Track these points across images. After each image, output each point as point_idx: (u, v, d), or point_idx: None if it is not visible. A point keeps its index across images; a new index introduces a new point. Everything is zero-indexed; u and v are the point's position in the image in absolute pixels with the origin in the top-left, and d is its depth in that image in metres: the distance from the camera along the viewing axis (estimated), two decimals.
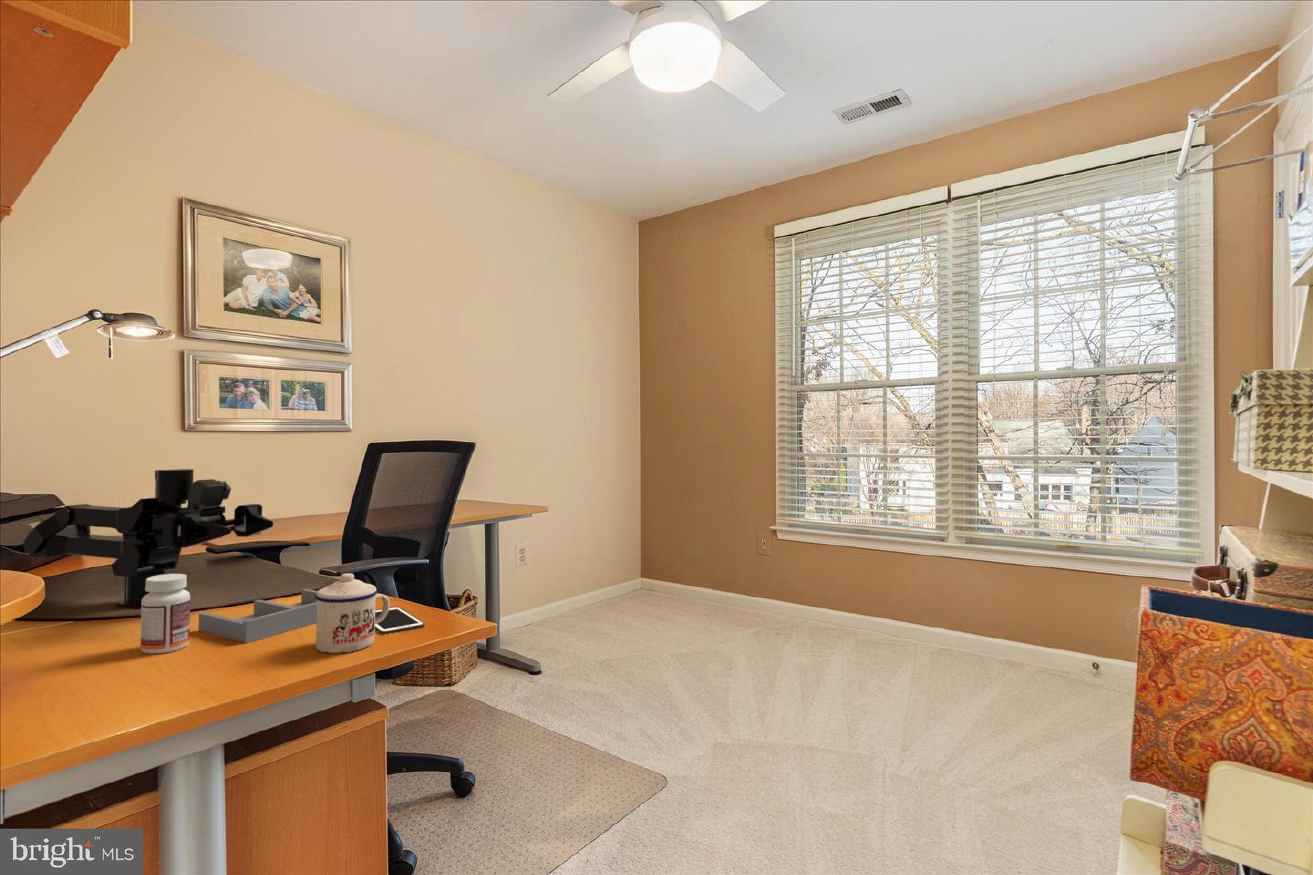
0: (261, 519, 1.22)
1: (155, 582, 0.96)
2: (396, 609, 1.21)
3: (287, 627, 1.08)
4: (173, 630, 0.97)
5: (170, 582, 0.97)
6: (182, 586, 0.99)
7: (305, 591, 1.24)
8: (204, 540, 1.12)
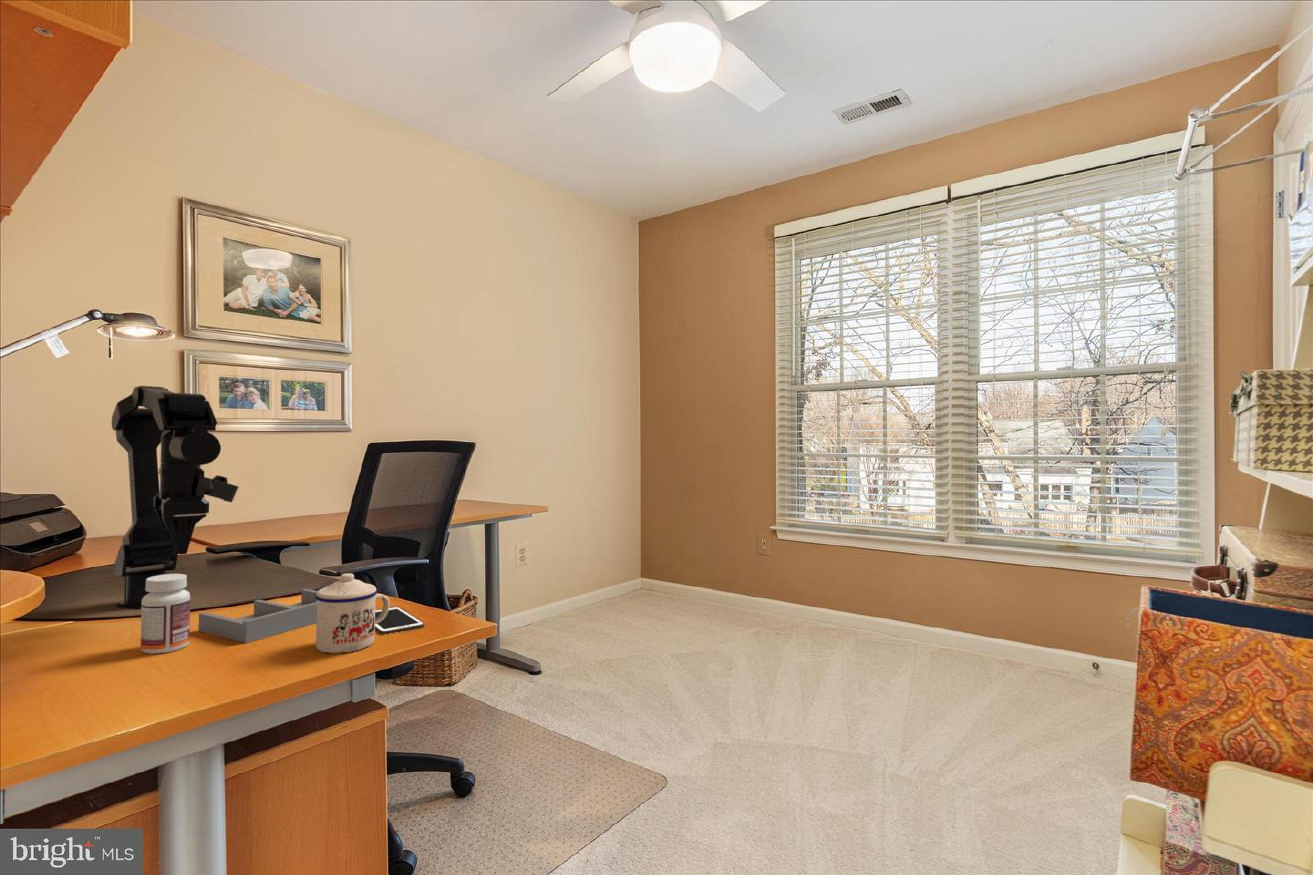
0: None
1: (155, 582, 0.96)
2: (396, 609, 1.21)
3: (287, 627, 1.08)
4: (173, 630, 0.97)
5: (170, 582, 0.97)
6: (182, 586, 0.99)
7: (305, 591, 1.24)
8: (170, 532, 1.05)
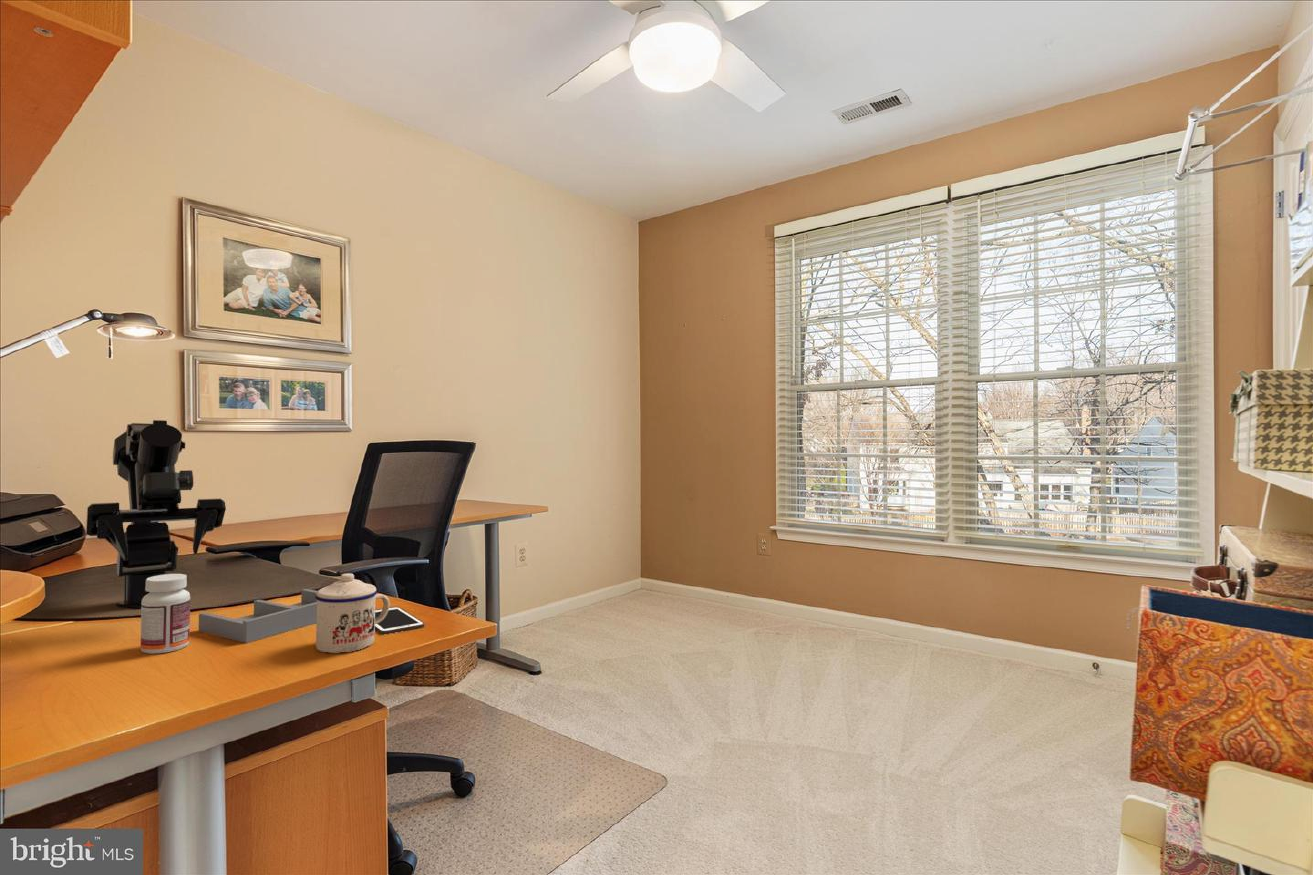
0: (194, 537, 1.09)
1: (155, 582, 0.96)
2: (396, 609, 1.21)
3: (287, 627, 1.08)
4: (173, 630, 0.97)
5: (170, 582, 0.97)
6: (182, 586, 0.99)
7: (305, 591, 1.24)
8: (113, 545, 1.04)
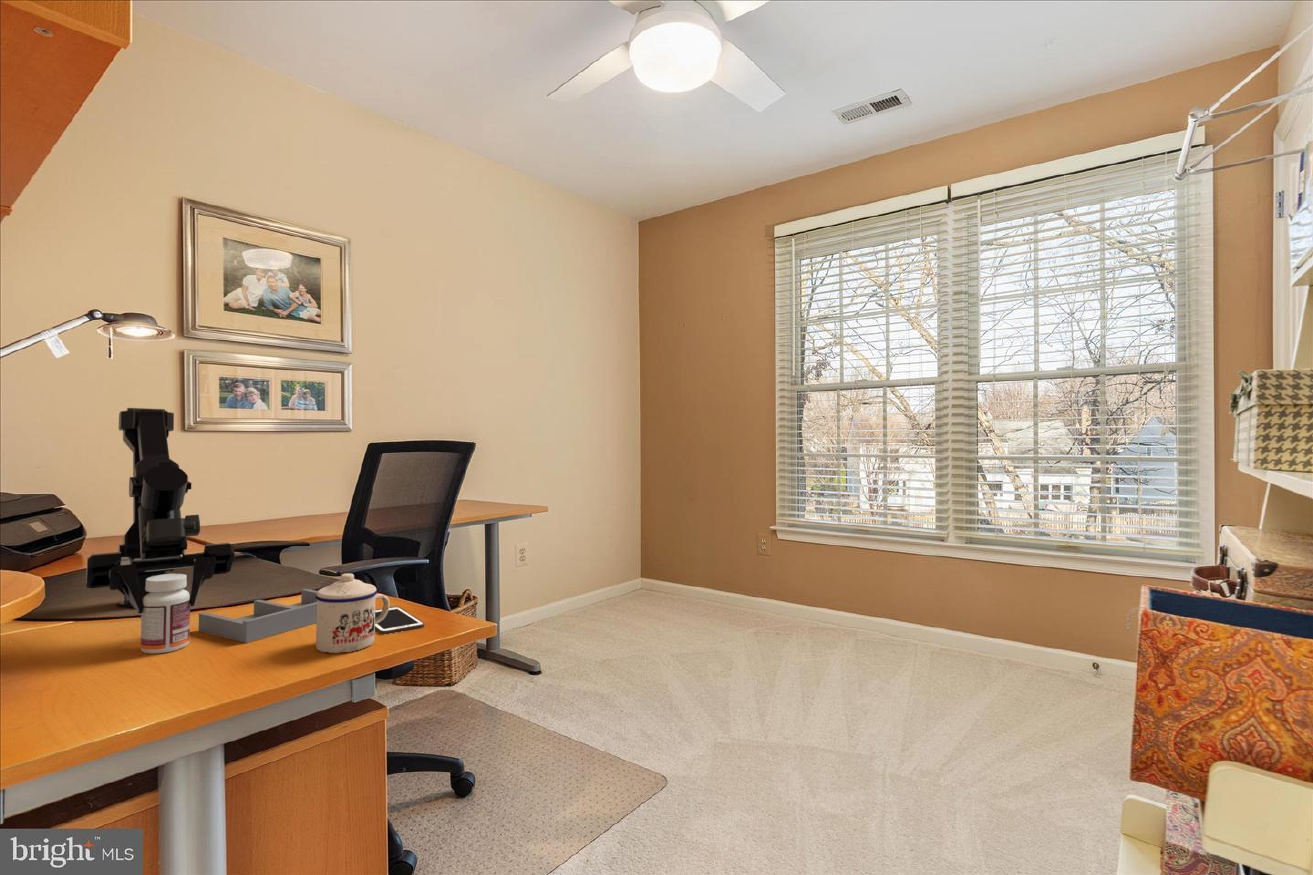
0: (191, 588, 1.01)
1: (155, 582, 0.96)
2: (396, 609, 1.21)
3: (287, 627, 1.08)
4: (173, 630, 0.97)
5: (170, 582, 0.97)
6: (182, 586, 0.99)
7: (305, 591, 1.24)
8: (127, 597, 0.98)
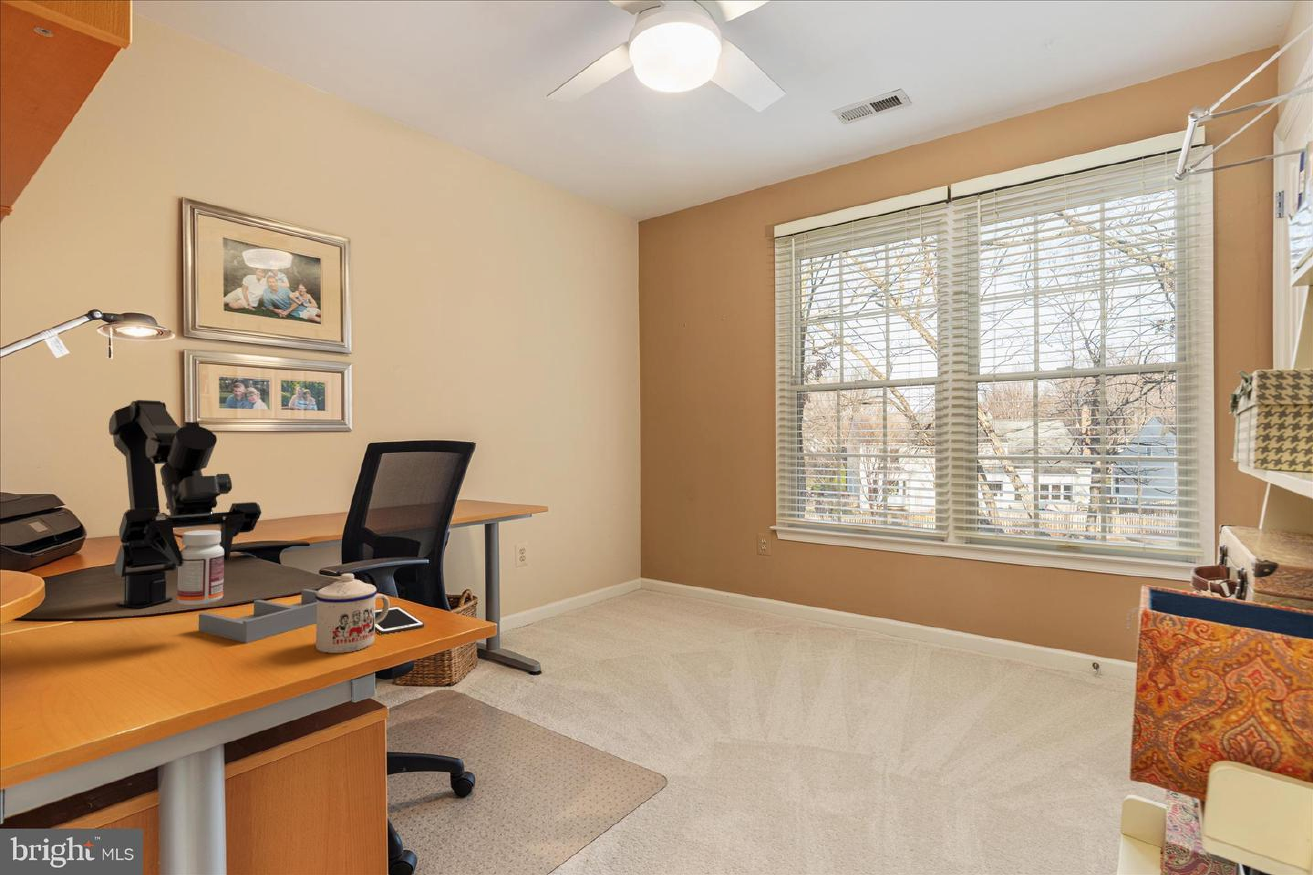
0: (225, 543, 1.05)
1: (194, 536, 1.00)
2: (396, 609, 1.21)
3: (287, 627, 1.08)
4: (211, 582, 1.01)
5: (209, 536, 1.01)
6: (218, 541, 1.03)
7: (305, 591, 1.24)
8: (162, 551, 1.01)
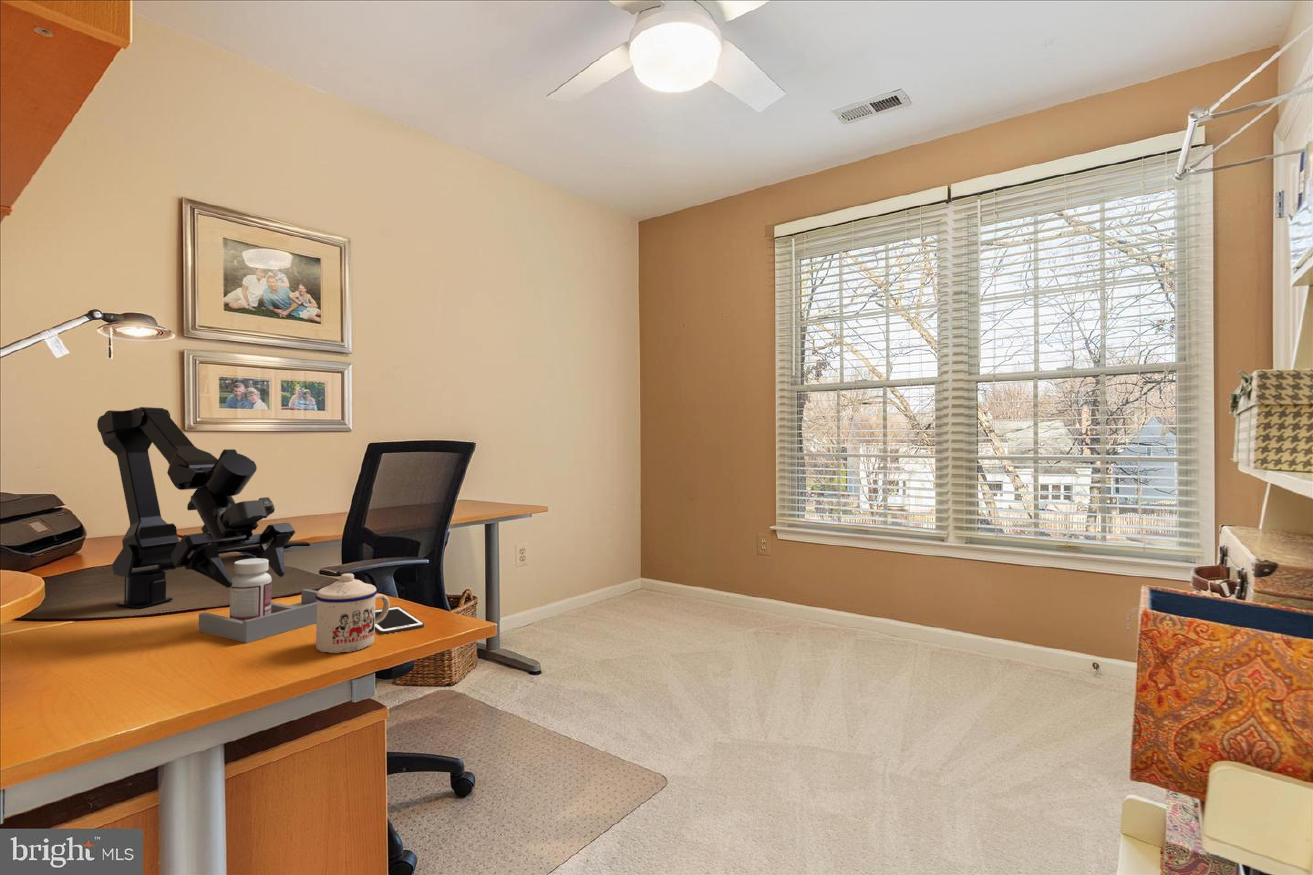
0: (278, 561, 1.14)
1: (249, 565, 1.07)
2: (397, 609, 1.21)
3: (287, 627, 1.08)
4: (265, 607, 1.09)
5: (262, 564, 1.09)
6: (268, 568, 1.11)
7: (305, 591, 1.24)
8: (206, 575, 1.05)
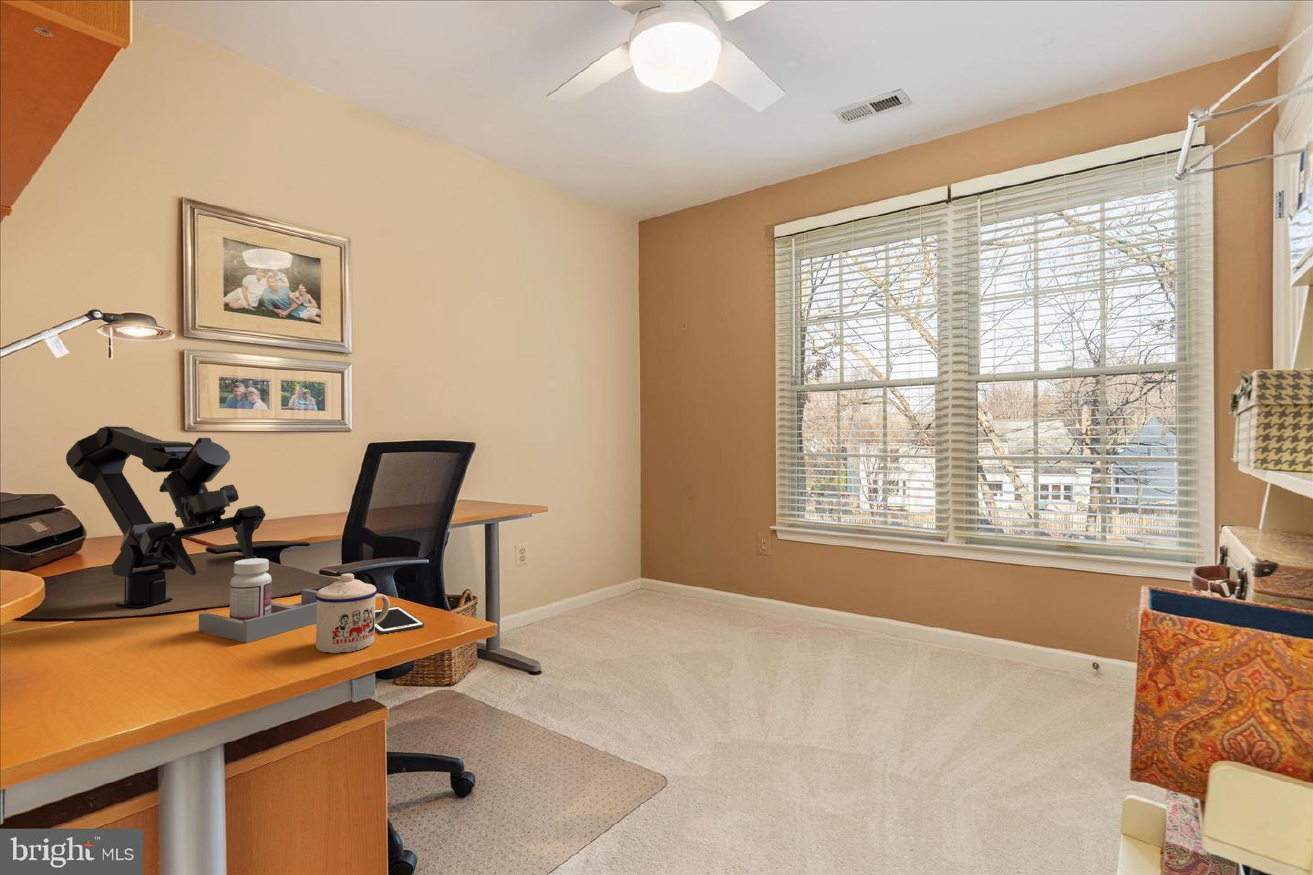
0: (246, 546, 1.18)
1: (250, 565, 1.07)
2: (397, 609, 1.21)
3: (287, 627, 1.08)
4: (265, 607, 1.09)
5: (262, 565, 1.09)
6: (268, 568, 1.11)
7: (305, 591, 1.24)
8: (174, 562, 1.11)
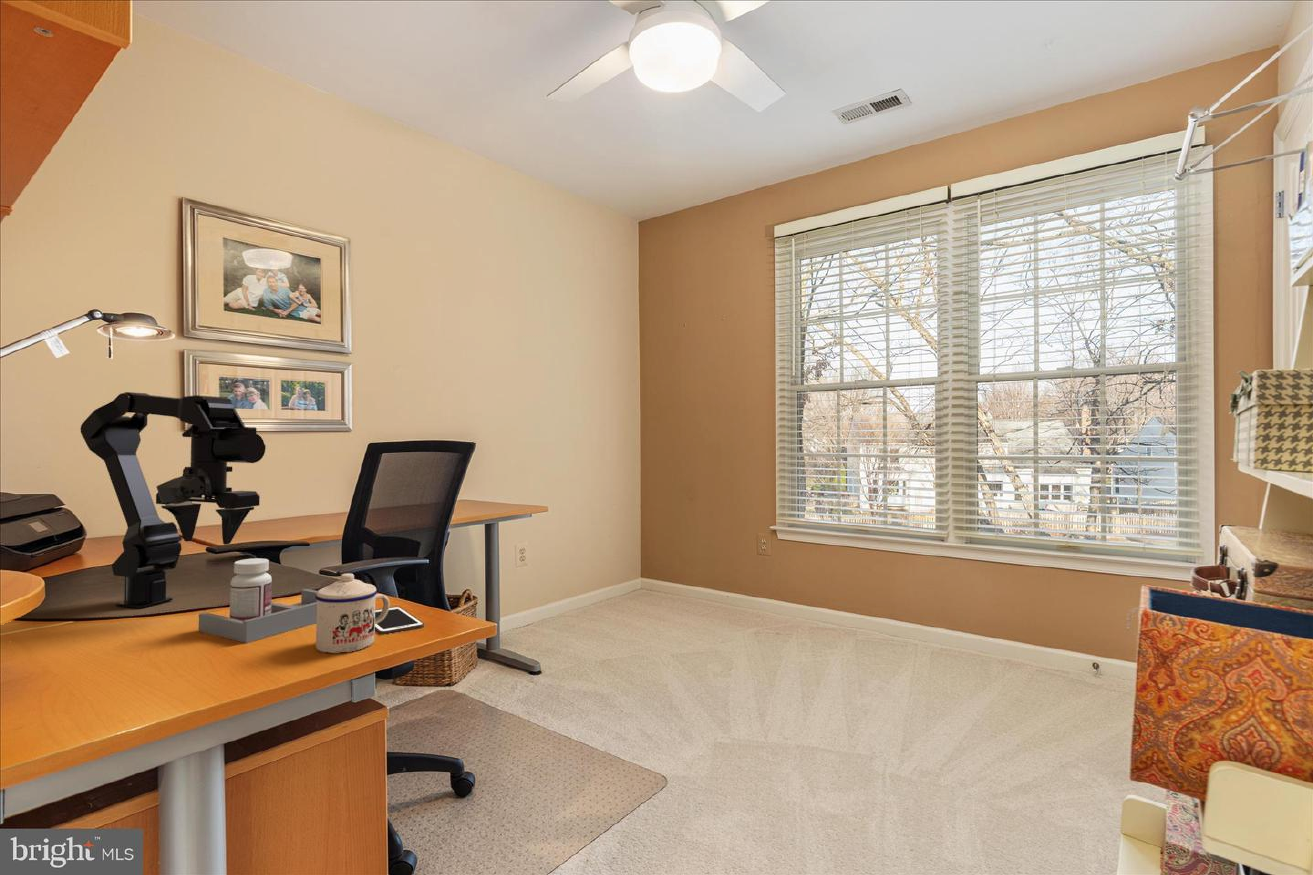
0: None
1: (250, 565, 1.07)
2: (397, 609, 1.21)
3: (287, 627, 1.08)
4: (265, 607, 1.09)
5: (262, 564, 1.09)
6: (268, 568, 1.11)
7: (305, 591, 1.24)
8: None
